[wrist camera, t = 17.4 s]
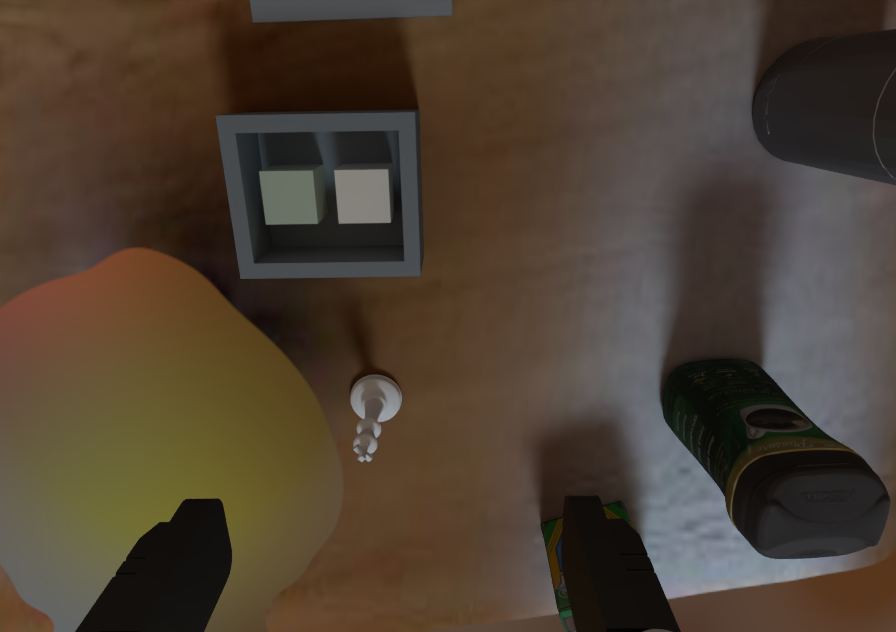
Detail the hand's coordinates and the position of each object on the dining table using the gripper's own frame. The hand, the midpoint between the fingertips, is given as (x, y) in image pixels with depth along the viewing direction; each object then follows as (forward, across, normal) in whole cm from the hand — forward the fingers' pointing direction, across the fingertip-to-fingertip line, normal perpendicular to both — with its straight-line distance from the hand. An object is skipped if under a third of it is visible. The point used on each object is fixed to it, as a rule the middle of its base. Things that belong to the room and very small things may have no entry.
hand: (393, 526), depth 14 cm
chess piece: (+38, +6, +18) cm, 43 cm away
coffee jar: (+38, -26, +18) cm, 50 cm away
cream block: (+37, +5, -2) cm, 38 cm away
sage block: (+37, +11, -2) cm, 39 cm away
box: (+38, +8, -2) cm, 39 cm away
